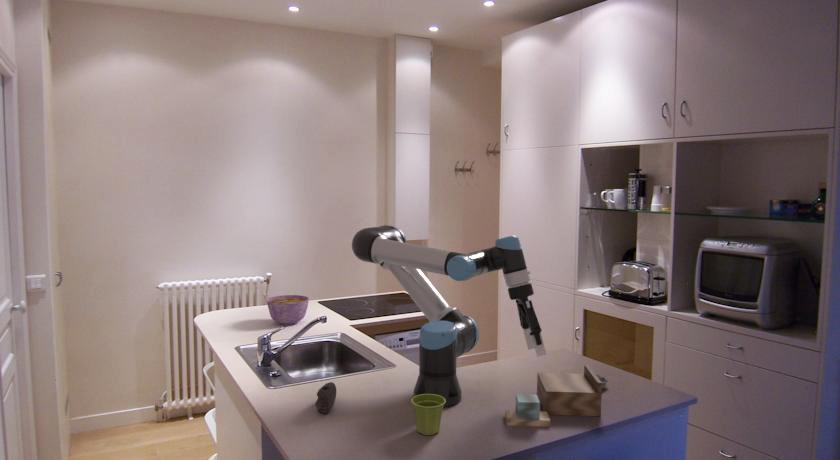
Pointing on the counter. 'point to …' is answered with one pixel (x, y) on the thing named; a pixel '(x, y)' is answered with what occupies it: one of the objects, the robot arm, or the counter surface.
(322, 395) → the perforated stone tool
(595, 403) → the dock
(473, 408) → the counter surface
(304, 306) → the bowl of food
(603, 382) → the miniature stone ruin
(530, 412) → the blue cube on tile
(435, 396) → the plant pot
